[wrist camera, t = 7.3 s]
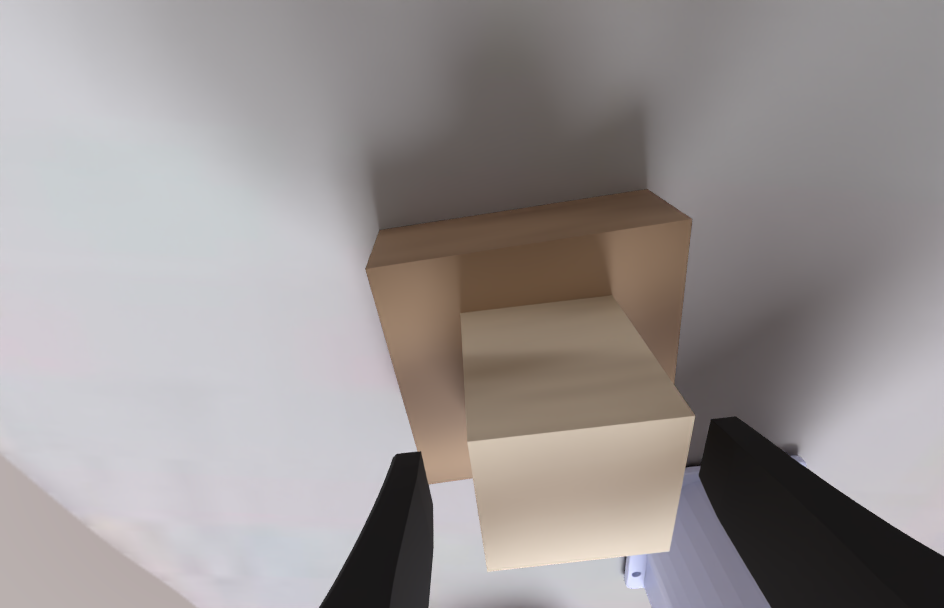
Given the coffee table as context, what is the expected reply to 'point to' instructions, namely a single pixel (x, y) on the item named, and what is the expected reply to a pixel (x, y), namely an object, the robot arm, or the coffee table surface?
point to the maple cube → (570, 434)
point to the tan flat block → (517, 293)
